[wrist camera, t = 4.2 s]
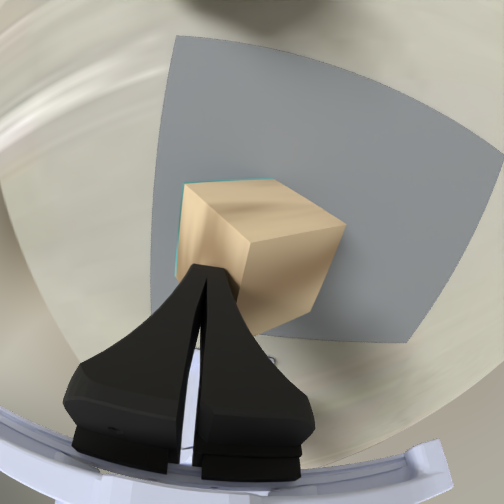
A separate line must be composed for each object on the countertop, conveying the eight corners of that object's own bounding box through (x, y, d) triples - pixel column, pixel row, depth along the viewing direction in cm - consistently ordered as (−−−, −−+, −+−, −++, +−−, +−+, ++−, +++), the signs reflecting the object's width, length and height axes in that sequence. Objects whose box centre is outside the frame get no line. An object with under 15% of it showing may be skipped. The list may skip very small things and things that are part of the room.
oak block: (252, 257, 19) (310, 311, 16) (174, 275, 16) (225, 347, 13) (272, 178, 16) (346, 224, 13) (182, 182, 13) (250, 242, 10)
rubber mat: (405, 341, 25) (406, 342, 25) (151, 316, 22) (151, 318, 22) (503, 154, 15) (505, 155, 15) (177, 36, 12) (176, 35, 12)
